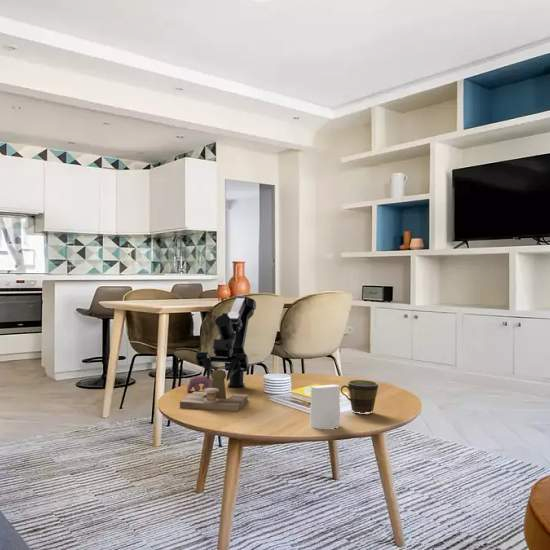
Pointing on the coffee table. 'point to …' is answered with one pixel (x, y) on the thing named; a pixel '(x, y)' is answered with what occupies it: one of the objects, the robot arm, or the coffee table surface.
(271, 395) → the coffee table surface
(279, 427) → the coffee table surface
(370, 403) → the ceramic cup
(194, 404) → the notched board
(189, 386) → the purple toy elephant
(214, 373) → the olive bulb shape
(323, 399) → the upright rounded white block
